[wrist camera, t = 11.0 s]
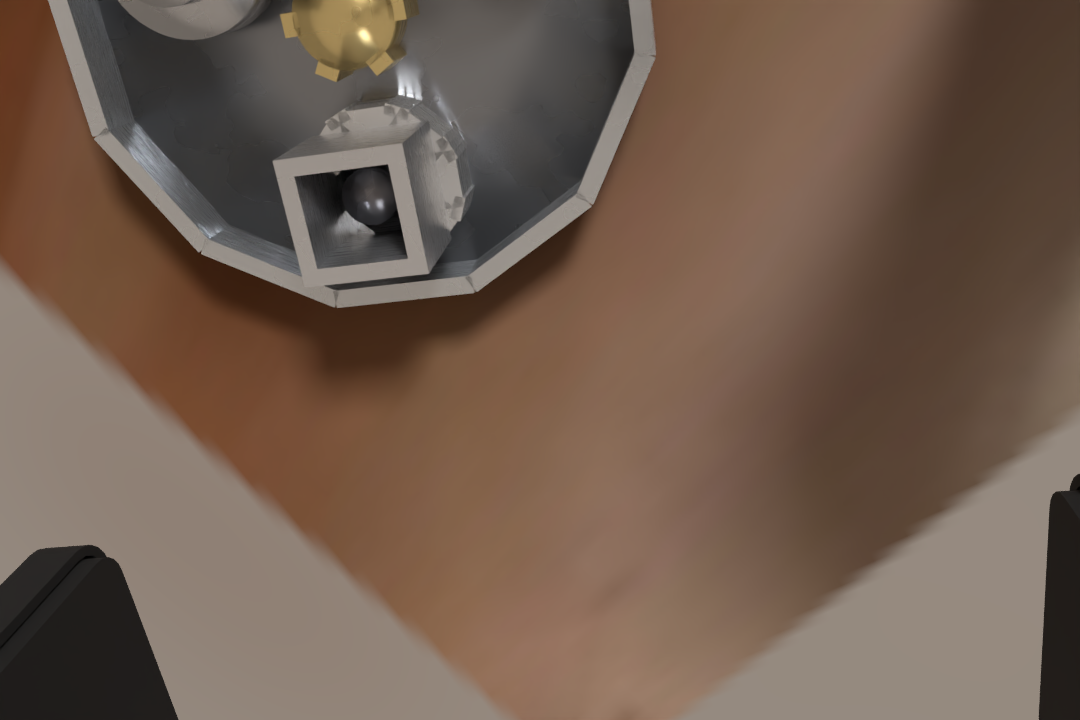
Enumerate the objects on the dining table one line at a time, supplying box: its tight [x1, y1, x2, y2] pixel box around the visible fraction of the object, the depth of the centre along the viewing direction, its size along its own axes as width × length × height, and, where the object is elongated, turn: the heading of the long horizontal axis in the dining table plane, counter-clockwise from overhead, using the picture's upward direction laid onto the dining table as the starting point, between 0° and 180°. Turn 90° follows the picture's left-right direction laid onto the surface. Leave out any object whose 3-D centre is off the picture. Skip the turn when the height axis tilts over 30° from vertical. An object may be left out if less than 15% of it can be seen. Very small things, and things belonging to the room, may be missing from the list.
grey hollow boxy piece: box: [273, 94, 475, 288], centre depth 36 cm, size 6×6×6 cm
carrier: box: [48, 0, 656, 308], centre depth 35 cm, size 21×21×5 cm
